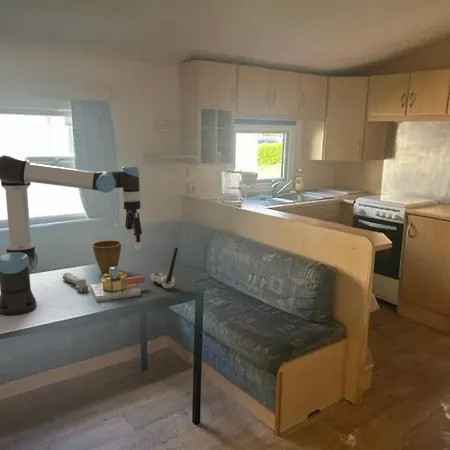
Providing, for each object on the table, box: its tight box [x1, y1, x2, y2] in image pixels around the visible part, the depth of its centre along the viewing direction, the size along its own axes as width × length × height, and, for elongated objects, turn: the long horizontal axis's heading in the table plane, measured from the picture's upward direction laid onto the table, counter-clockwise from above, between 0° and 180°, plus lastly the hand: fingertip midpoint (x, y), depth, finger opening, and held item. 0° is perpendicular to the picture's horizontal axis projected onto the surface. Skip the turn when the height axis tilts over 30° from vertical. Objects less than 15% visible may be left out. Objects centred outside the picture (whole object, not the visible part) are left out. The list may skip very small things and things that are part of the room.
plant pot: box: [92, 239, 122, 275], centre depth 247 cm, size 15×15×16 cm
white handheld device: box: [62, 272, 89, 293], centre depth 226 cm, size 5×7×25 cm
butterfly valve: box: [149, 246, 179, 289], centre depth 227 cm, size 9×20×17 cm
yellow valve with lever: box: [100, 271, 146, 291], centre depth 217 cm, size 20×12×5 cm, turn 114°
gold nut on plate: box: [89, 266, 142, 302], centre depth 215 cm, size 20×18×12 cm
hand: (134, 245), depth 214 cm, fingers open, 13 cm apart
